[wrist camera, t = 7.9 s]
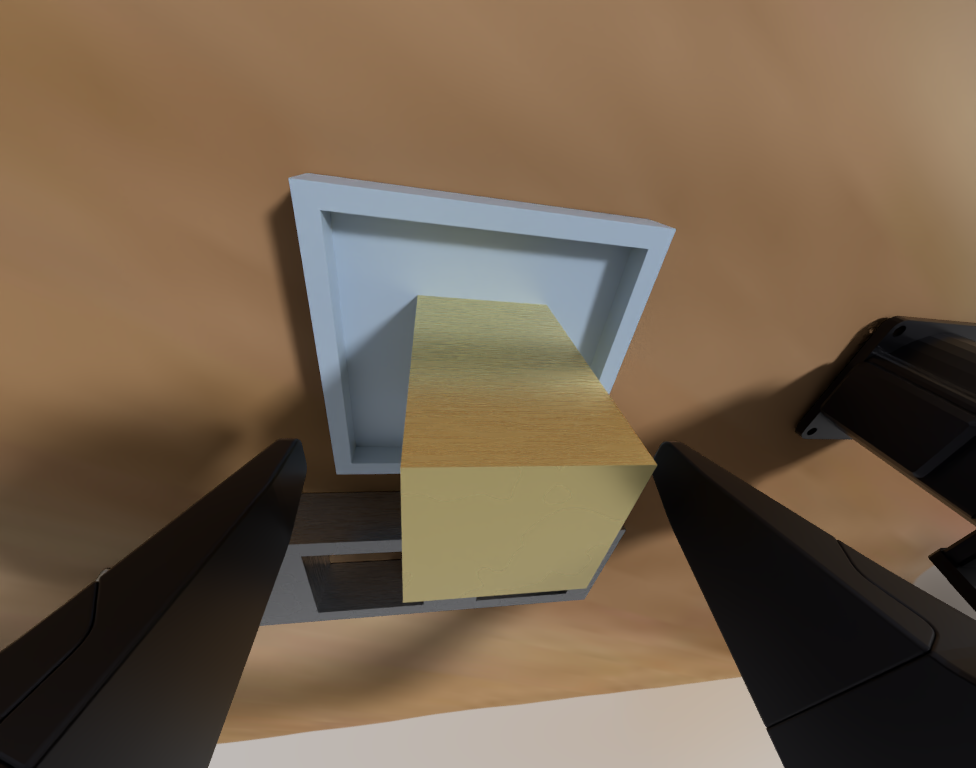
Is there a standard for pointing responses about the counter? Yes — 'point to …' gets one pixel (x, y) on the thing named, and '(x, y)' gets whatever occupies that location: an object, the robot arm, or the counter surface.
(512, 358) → the brushed brass block
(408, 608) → the plate with rectangular hole
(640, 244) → the tray
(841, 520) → the counter surface
